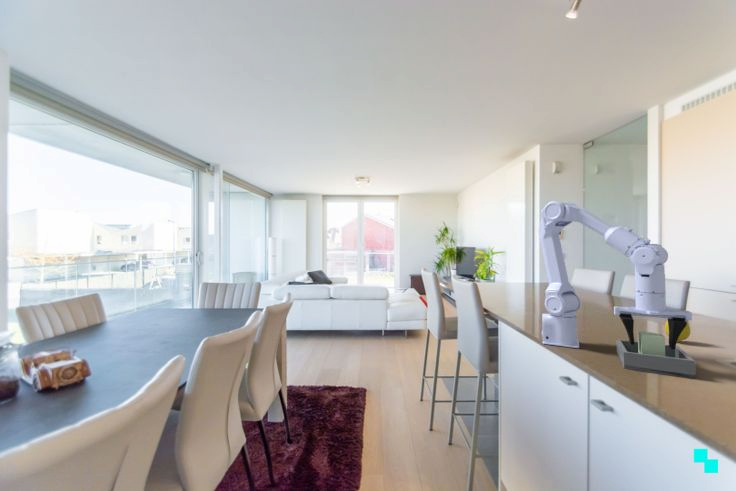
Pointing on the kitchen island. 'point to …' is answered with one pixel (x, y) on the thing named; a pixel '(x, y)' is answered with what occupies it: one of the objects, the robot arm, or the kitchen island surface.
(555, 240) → the robot arm
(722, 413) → the kitchen island surface
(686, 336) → the lemon
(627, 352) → the bin
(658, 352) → the block
